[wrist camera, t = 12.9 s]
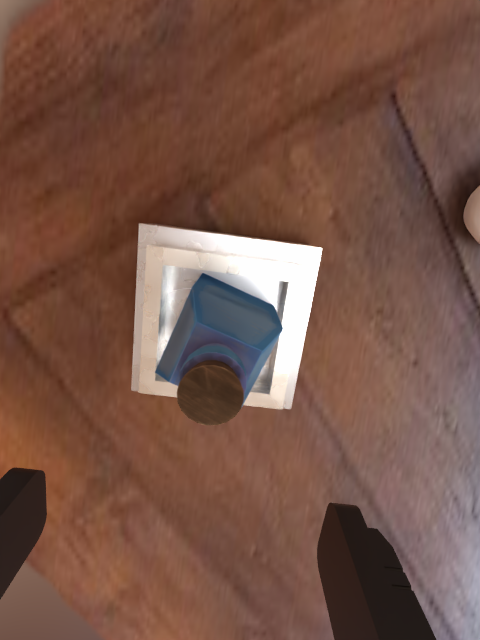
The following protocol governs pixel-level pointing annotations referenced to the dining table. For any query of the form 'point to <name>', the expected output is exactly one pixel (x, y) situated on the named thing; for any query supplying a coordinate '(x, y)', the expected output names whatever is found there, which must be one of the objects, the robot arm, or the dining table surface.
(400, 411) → the dining table surface
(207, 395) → the perfume bottle
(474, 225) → the plain white apple
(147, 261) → the white square stand
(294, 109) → the dining table surface
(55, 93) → the dining table surface
